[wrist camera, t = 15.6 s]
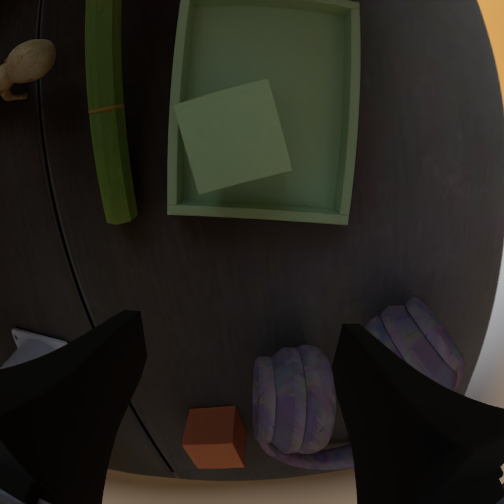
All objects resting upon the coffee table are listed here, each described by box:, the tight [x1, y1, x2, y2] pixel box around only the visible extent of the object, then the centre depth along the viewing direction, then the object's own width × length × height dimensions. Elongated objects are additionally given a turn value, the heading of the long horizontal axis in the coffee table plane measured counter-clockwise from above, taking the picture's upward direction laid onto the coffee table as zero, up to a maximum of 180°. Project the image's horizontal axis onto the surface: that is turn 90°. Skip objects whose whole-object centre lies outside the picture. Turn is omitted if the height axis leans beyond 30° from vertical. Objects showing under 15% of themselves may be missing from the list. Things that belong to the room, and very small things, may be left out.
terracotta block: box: [182, 405, 246, 469], centre depth 24 cm, size 4×4×4 cm
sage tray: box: [167, 0, 361, 225], centre depth 16 cm, size 14×11×2 cm
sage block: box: [174, 79, 293, 195], centre depth 15 cm, size 4×4×4 cm
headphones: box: [252, 296, 465, 470], centre depth 22 cm, size 18×8×20 cm
